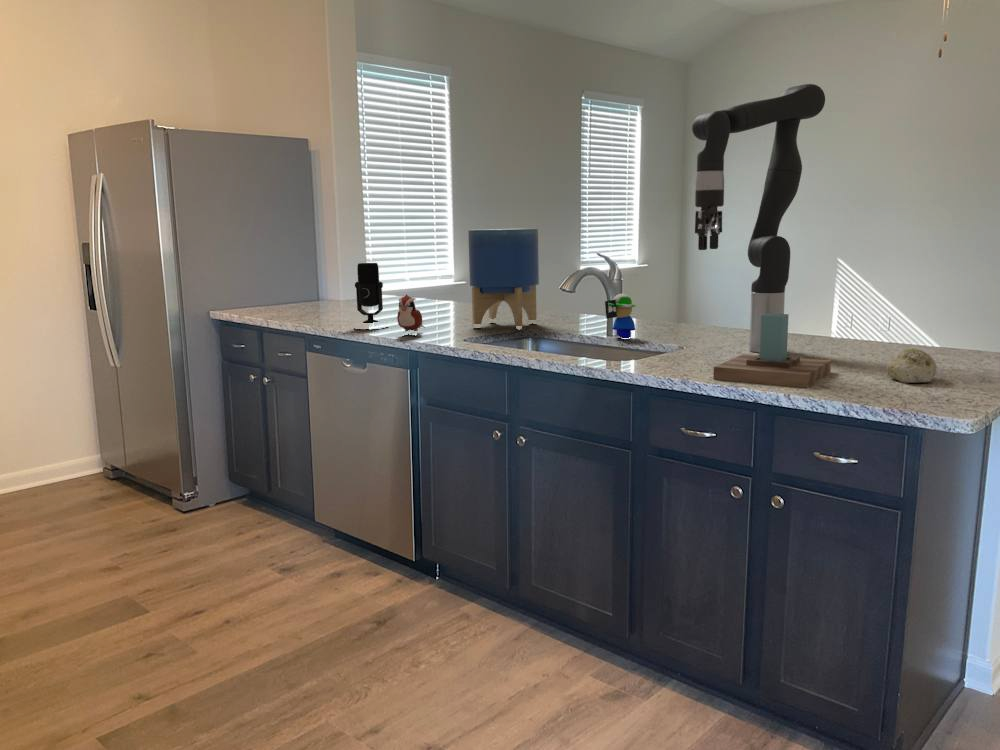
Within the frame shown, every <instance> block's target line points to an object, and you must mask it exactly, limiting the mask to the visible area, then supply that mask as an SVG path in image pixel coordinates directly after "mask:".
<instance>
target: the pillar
mask: <svg viewBox="0 0 1000 750" xmlns="http://www.w3.org/2000/svg"><path fill="white" fill-rule="evenodd" d="M788 333H789V314H788V313H784V314H770V313H768V314H764V315H761V340H760V352H759V354H760V360H764V361H778V362H785V361H787V356H788V335H789V334H788Z"/></svg>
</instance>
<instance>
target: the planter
mask: <svg viewBox="0 0 1000 750" xmlns="http://www.w3.org/2000/svg"><path fill="white" fill-rule="evenodd" d="M467 233H468V234H467V235H468V239H467V240H468V266H469V267H468V268H469V269H468V270H469V271H468V272H469V286H470V287H471V304H472V305H471V306H472V309H471V310H472V311H471V312H472V325H473V324H481V325H482V322H483V319H484V316H485V315H486V312H487V311H488V319H489V318H491V319H494V318H496V319H497V314H498V309H499V306H500V304H501V303H503V302H505V303H506V304H507V306H509V308H510V311H511V313H512V315H513V320H514V327H515V326H522V327H523V310H524V311H525V313H526V317H527V321H528V320H537V286H538V285H540V283H539V282H540V281H539V280H540V277H539V276H540V273H539V272H540V271H539V267H540V266H539V228H538V227H537V228H535V227H534V228H493V229H490V228H489V229H487V228H486V229H468V230H467Z"/></svg>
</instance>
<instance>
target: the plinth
mask: <svg viewBox="0 0 1000 750" xmlns="http://www.w3.org/2000/svg"><path fill="white" fill-rule="evenodd" d="M831 367H832V360H831V359H819V358H818V359H817V358H805V357H804V358H803V357H802V358H801V357H800V356H788V355H787V361H785V362H778V361H764V360H760V353H759V354H746V353H742V354H740V355H737V356H736V357H733V358H731V359H728V360H726V361H724V362H722V363H719V364H717V365H715V366H713V376H712V377H713V380H719V381H720V380H721V381H730V382H731V381H733V382H742V383H752V384H753V383H754V384H764V385H776V386H786V387H800V388H809V387H810V386H812V385H813V384H815V383H816V382H818V381H819V380H822V378H824V377H826V376H827V375H828V374H830V373H831Z"/></svg>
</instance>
